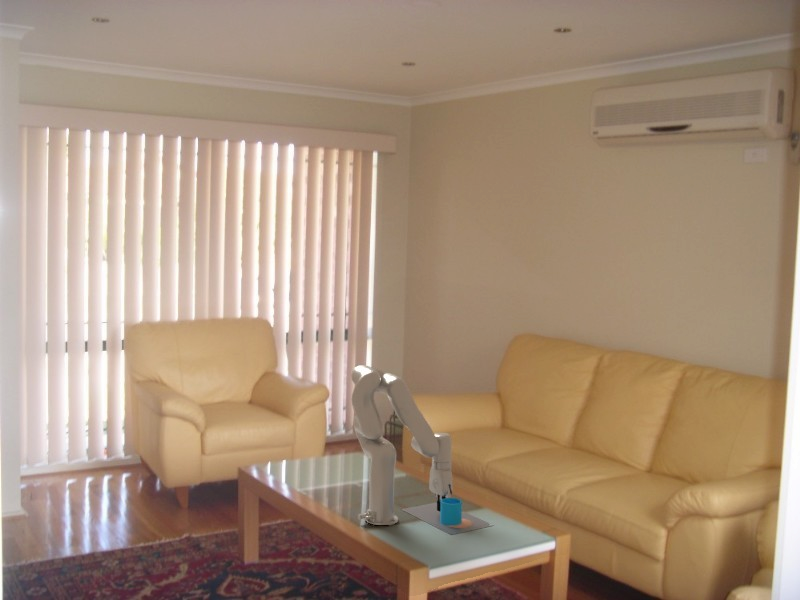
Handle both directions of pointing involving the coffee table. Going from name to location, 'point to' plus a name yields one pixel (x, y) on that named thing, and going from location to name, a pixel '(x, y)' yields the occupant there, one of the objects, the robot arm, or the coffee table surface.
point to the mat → (433, 518)
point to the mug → (451, 511)
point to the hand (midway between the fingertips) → (441, 510)
